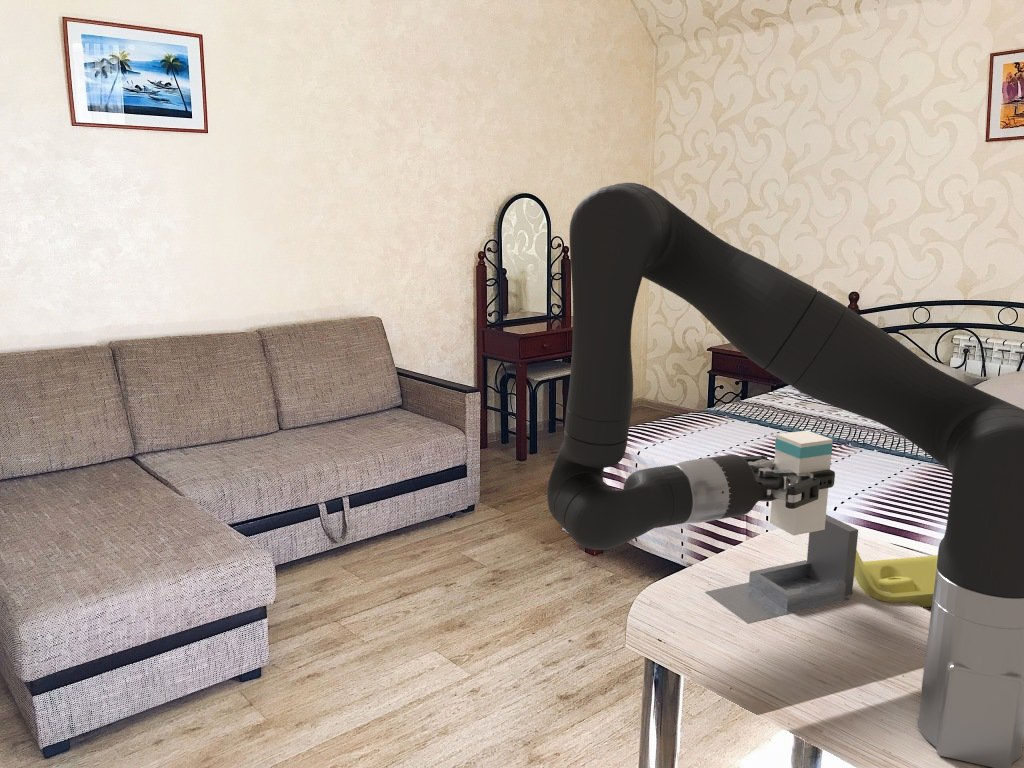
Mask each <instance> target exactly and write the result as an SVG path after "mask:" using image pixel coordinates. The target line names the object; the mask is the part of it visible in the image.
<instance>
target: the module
mask: <svg viewBox="0 0 1024 768" xmlns="http://www.w3.org/2000/svg"><path fill="white" fill-rule="evenodd" d="M833 440H834V439H832V438H830V437H827V436H825V435H821V434H818V433H816V432H813V431H810V430H807V429H805V430H801V431H793V432H792V431H791V432H785V433H784V432H783V433H778V434H777V433H776V437H775V442H774V443H775V444H774V445H775V447H774V459H775V460H774V463H775V467H774V470H784V469H790V470H792V471H793V472H795V473H807V472H816V471H822V470H828V469H830V470H831V462H832V454H833V445H834V444H833ZM801 481H803V480H797V481H796V483H798V482H801ZM785 488H786V477H784V489H785ZM828 494H829V488H825V489H820V490H819V496H818V499H817V500H815V501H812V502H810V503H807V504H805V505H802V506H800V507H797V508H795V509H789V508H786V507H785V504H786V501H785V500H782V499H775V500H772V501H770V502H771V503H770V504H771V505H770V516H769V523H770V524H771V525H773V526H774V527H776V528H778V529H781V530H783V531H785V532H786V533H788V534H790V535H792V536H798V535H803V534H809V532H815V531H820V530H825V520H826V515H827V506H828V496H829V495H828Z"/></svg>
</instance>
